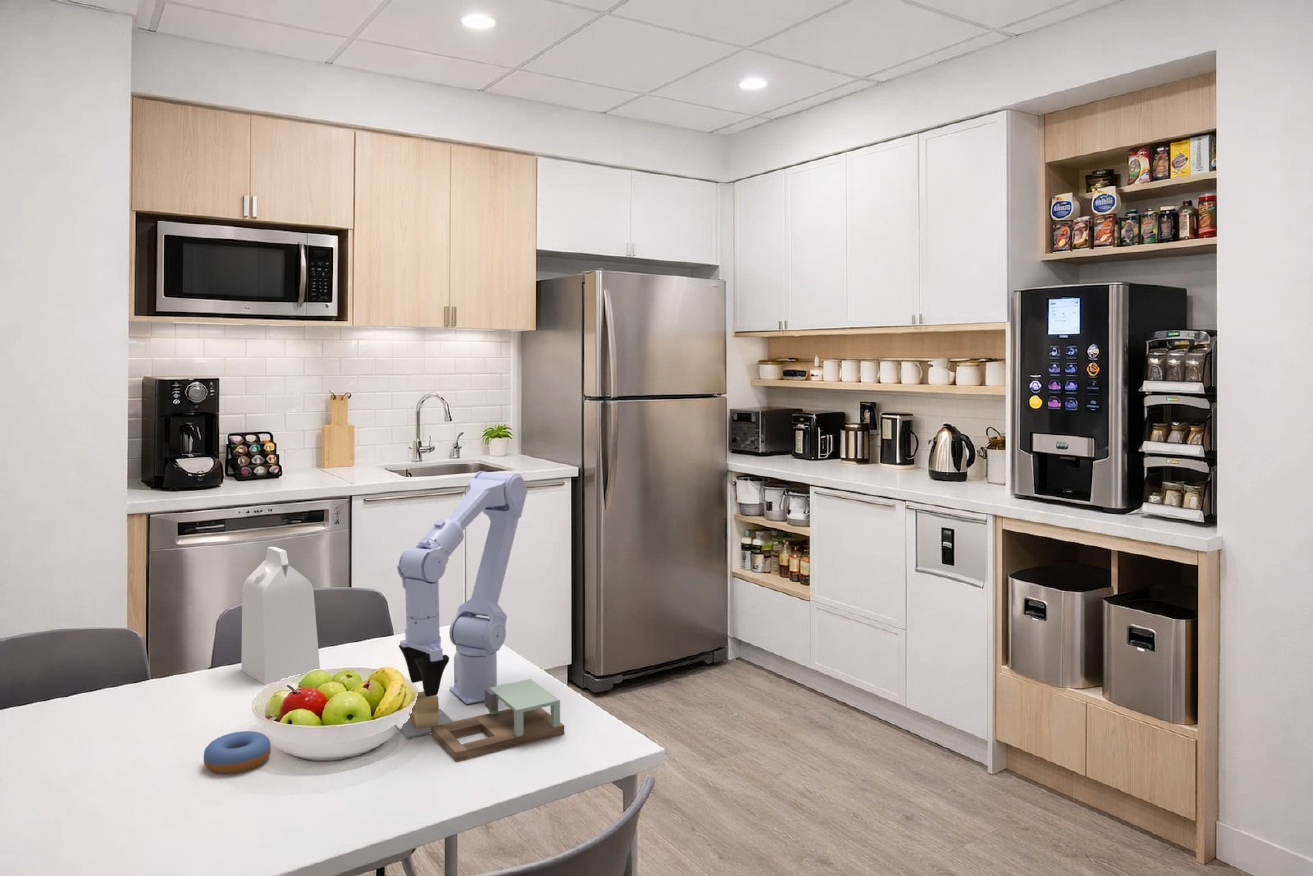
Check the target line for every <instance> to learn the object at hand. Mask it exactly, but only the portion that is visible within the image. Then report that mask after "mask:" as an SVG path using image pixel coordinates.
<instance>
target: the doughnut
mask: <svg viewBox="0 0 1313 876" xmlns="http://www.w3.org/2000/svg"><path fill="white" fill-rule="evenodd" d="M271 752H272V751H271V741H270V739H269V737H268V736H267V735H265V734H264V733H262V732H259V731H253V730H244V731H241V730H240V731H236V732H234V731H233V732H230V733H227V734H225V735H222V736H219V737H217V738H215V739H214V740H212V741H211V742H210V743H208V745H207V746H206V747H205V749H204V751H203V764H204V766H205V767H206V768H207V770H208V771H211V772H212V773H215V774H221V775H232V774H233V775H234V774H241V773H244V771H245V772H247V771H251V770H253V769H255V768H258V767H260V766H261V765H262V764H263V763H265V762H266V761H267V759H268V758H269V756H270V755H271ZM240 772H241V773H240Z"/></svg>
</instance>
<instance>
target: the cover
mask: <svg viewBox="0 0 1313 876" xmlns="http://www.w3.org/2000/svg"><path fill="white" fill-rule="evenodd" d="M499 700H500V701H501V702H502V703H503V704H505V705H506V706H507V707H508V709H510V708H511V709H512V710H513V711H514V735H516V736H517V737H518V736H522V735H523V712H526V711H530V710H534V709H538V708H542V709H544V708H546V707H550V715H551V726H553V727H558V726H560V722H561V700H560V699H559V698H558V697H556V696H555V695H553V694H552V693H551V692H549V691H548V690H546V689H545V688H544V687H542V686H540V685H539V684H538V683H536V682H535V681H534V680H532V679H531V678H529V679H524V680H519V681H513V682H509V683H506V684H501V685H497V686H495V687H491V688H489V689H485V701H484V707H485V708H487V709H488V711H489V713H490V714H491V715H494V714H498V711H499Z"/></svg>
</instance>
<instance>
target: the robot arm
mask: <svg viewBox="0 0 1313 876" xmlns="http://www.w3.org/2000/svg"><path fill="white" fill-rule="evenodd" d="M527 488H528V487H527V485H526V483H525V480H524V477H523V476H522V475H521V474H519V473H502V472H501V473H500V472H489V471H484V470H480V471H476V472H475V474H474V475H473V477H472V478H471V479H469V481H468V487H467V493H466V495H464V497H463V498H462V499H461V501H460V502H459V503H458V505H457V506H456V507H455V509H454V510H453V512H452V514H451V515H450V516H449V518H442V519H439V520H437V521H435V523H434V524H433V526H432V528H431V529H430V530H429V531H428V532H427V533H426V534H425V536H424V537H423V538H422V539H421V540H420V541H419V542H418V544H417V545H416V546H412V547H409V548H407V549H406V550H405V551H404V552H402V553H401V555H400V557H399V561H398V564H397V566H396V570H397V573H398V575H399V576H400V578H401V580H402V581H401V582H402V587H403V589H404V591H405V619H406V620H405V621H406V624H405V625H406V628H405V629H404V632H405V634H404V635H405V637H404V638H405V639H403V640H400V641H399V645H398V648H399V650H400V651H401V653H402V654H403V657H404V660H405V663H406V666H407V669H408V674H409V675H408V676H409V678H410V682H411V683H412V684H415V683H420V682H422V688H423V691H424V693H425V696H426V697H429V696H433V695H437V696H438V694H439V690H440V686H441V682H442V681H441V680H442V678H443V675H444V671H445V669H446V668H447V666H448V663H449V661H450V656H449V655H447V654H443V652H444V651H443V648H442V647H441V646H442V638H441V637H442V636H441V635H440V603H439V602H440V595H439V591H440V590H439V585H440V584H439V580H440V579H442V578H443V576H444V574H445V571H446V568H447V564H448V562H449V560H450V559H449V558H450V556H452V554H453V553H454V551H455V550H457V548H458V547H459V546H460V544H461V543H462V542H463V541H464V538H465V536H464V535H465V534H464V530H465V529H466V528H467V527H468V526H469V525H470V524H471V523H472V522H473V521H474V520H475V519H476V518H477V517H478V516H479V515H481V513H483V514H484V515H485V516H487V517H488V518H489V521H490V524H489V528H488V531H487V535H486V540H485V543H484V547H483V552H482V554H481V557H480V558H481V559H480V562H479V566H478V571H477V574H476V578H475V583H474V586H473V591H472V594H471V597H470V598H469V599H468V600H467V601H465V602H463V603H461V604H460V605H459V606H458V608H457V612H456V615H455V616H454V619H453V620H452V622H451V624H450V625H449V639H450V642H451V643H452V645H454V646H455V653H454V656H453V657H454V658H453V684H454V685H453V686H452V685H451V686H450V687H449V690H450V691H451V692H452V694H454V695H455V696H456V697H457V698H459V699H460V700H461V701H462V702H463V703H464V704H466V705H470V704H476V703H480V702H485V689H489V688H491V687H495V686H498V677H497V676H498V665H497V661H498V660H497V659H498V658H497V656H498V655H497V652H498V651H500V650H501V648H502V646H503V644H504V642H505V640H506V636H507V631H506V623H507V619H508V615H507V614H506V613H505V611H504V610H503V609H502V608H501V606H500V605H499V601H500V596H501V593H502V592H501V591H502V588H503V584H504V580H505V578H506V577H505V576H506V571H507V568H508V564H509V560H510V555H511V552H512V548H513V544H514V541H515V536H516V532H517V528H518V524H519V519H520V518H521V517H522V514H523V510H524V506H525V501H526V498H527V494H528V489H527ZM487 617H488V618H487Z"/></svg>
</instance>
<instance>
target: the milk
mask: <svg viewBox="0 0 1313 876" xmlns="http://www.w3.org/2000/svg"><path fill="white" fill-rule="evenodd" d="M287 554H288V553H287V551H286V550H285V549H282V548H279V547H276V546H269V547H267V550H266V556H265V560H263V562H262V563H260V564H259V565H258V567H256V569H254V570H253V572H252V573H250V575H249V576H248V577H247V578H246V580H245V581H244V582H243V585H242V588H241V589H242V592H241V662H240V663H241V666H240V670H241V671H242V672H244V673H245V674H247V675H248V676H250V677H252V678H254V679H255V680H257V681H259V682H260V683H261V684H263V685H264V686H265V685H269V684H270V685H271V684H273V682H274V683H277V682H281V681H280V680H281V679H283V678H288V677H289V676H293V675H297V674H303V673H307V672H309V671H311V670H314V669H320V670H321V665H320V663H321V662H320V653H319V652H320V651H319V641H318V631H317V630H318V626H317V617H316V616H317V615H316V606H315V605H316V603H315V593H314V592H315V591H314V586H313V584H312V582H311V581H310V580H309V579H307V577H305V576H304V575H303V574H301V573H300V572H299V571H297V570H296V569H295V568H293V566H291V565H290V564H289V559H288V555H287Z"/></svg>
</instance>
